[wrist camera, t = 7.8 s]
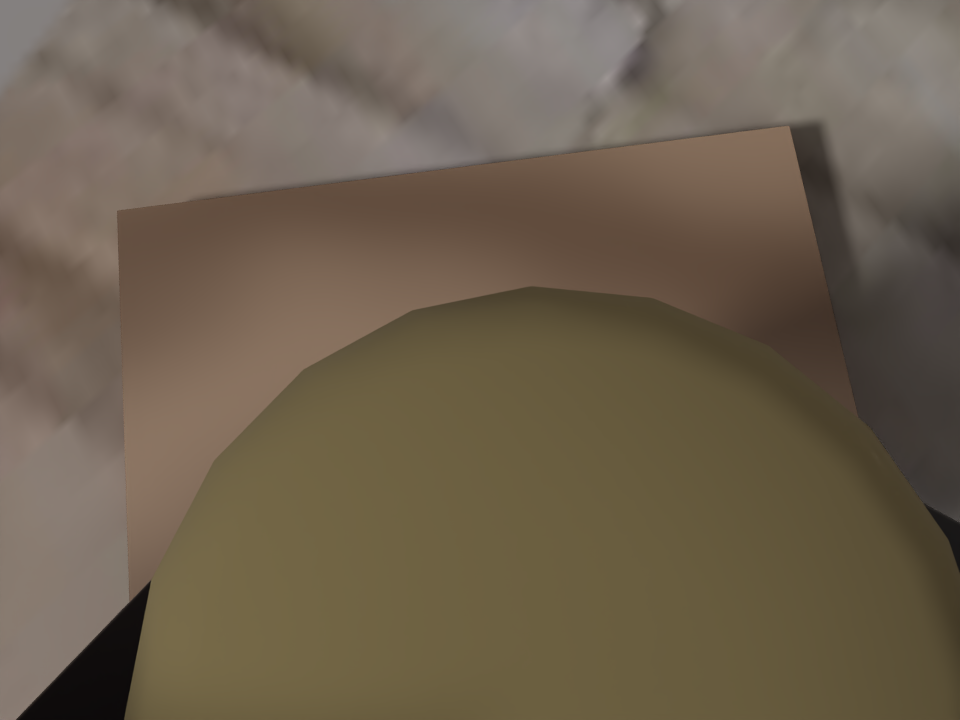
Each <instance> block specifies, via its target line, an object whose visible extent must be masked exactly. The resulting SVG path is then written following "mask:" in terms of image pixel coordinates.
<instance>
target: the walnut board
mask: <svg viewBox="0 0 960 720" xmlns="http://www.w3.org/2000/svg"><path fill="white" fill-rule="evenodd" d="M117 222H118V253H119V285H120V316H121V348H122V379H123V411H124V442H125V474H126V505H127V537H128V569H129V600H130V601H131V600H132V599H133V598H134V597H135V596H136V595H137V594H138V593H139V592H140V591H141V590H142V589H143V587H144V586H145V585H146V584H147V583H148V582H149V581H150V580H151V579H152V578H153V576H154V574H155V572H156V570H157V568H158V566H159V564H160V563H161V561H162V559H163V557H164V555H165V553H166V551H167V549H168V547H169V545H170V543H171V542H172V540H173V538H174V536H175V534H176V532H177V530H178V528H179V526H180V524H181V522H182V521H183V519H184V517H185V515H186V513H187V511H188V509H189V507H190V505H191V503H192V502H193V500H194V498H195V496H196V494H197V492H198V490H199V488H200V486H201V484H202V482H203V481H204V479H205V477H206V475H207V473H208V471H209V469H210V467H211V465H212V463H213V462H214V460H215V459H216V458H217V457H218V456H219V455H220V454H221V453H222V452H223V451H224V450H225V449H226V448H227V447H228V446H229V445H230V444H231V443H232V442H233V441H234V440H235V439H236V438H237V437H238V436H239V435H240V434H241V433H242V432H243V431H244V430H245V429H246V428H247V426H248V425H249V424H250V423H251V422H252V421H253V420H254V419H255V418H256V417H257V416H258V415H259V414H260V413H261V412H262V411H263V410H264V409H265V408H266V407H267V406H268V405H269V404H270V403H271V402H272V401H273V400H274V399H275V398H276V397H277V396H278V395H279V394H280V393H281V392H282V391H283V390H284V389H285V388H286V387H287V386H288V385H289V384H290V383H291V382H292V381H293V380H294V379H295V378H296V377H297V376H298V374H299V373H300V372H301V371H302V370H303V369H305V368H307V367H309V366H311V365H312V364H314V363H316V362H318V361H320V360H322V359H323V358H325V357H327V356H329V355H331V354H333V353H334V352H336V351H338V350H340V349H342V348H344V347H345V346H347V345H349V344H351V343H353V342H355V341H356V340H358V339H360V338H362V337H364V336H366V335H367V334H369V333H371V332H373V331H375V330H377V329H378V328H380V327H382V326H384V325H386V324H388V323H389V322H391V321H393V320H395V319H397V318H399V317H401V316H402V315H404V314H406V313H408V312H410V311H412V310H416V309H421V308H426V307H430V306H435V305H440V304H445V303H450V302H455V301H460V300H465V299H470V298H475V297H480V296H485V295H489V294H494V293H499V292H504V291H509V290H514V289H519V288H524V287H529V286H535V287H546V288H556V289H566V290H577V291H587V292H597V293H607V294H618V295H628V296H638V297H649V298H654V299H656V300H659V301H661V302H664V303H666V304H669V305H671V306H673V307H676V308H678V309H681V310H683V311H686V312H688V313H691V314H693V315H695V316H698V317H700V318H703V319H705V320H708V321H710V322H712V323H715V324H717V325H720V326H722V327H725V328H727V329H729V330H732V331H734V332H737V333H739V334H742V335H744V336H746V337H749V338H751V339H754V340H756V341H759V342H761V343H763V344H766V345H768V346H770V347H771V348H772V349H773V350H775V351H776V352H777V353H778V354H780V355H781V356H782V357H783V358H785V359H786V360H787V361H788V362H789V363H791V364H792V365H793V366H794V367H796V368H797V369H798V370H799V371H801V372H802V373H803V374H804V375H806V376H807V377H808V378H809V379H811V380H812V381H813V382H814V383H816V384H817V385H818V386H819V387H821V388H822V389H823V390H824V391H825V392H827V393H828V394H829V395H830V396H832V397H833V398H834V399H835V400H837V401H838V402H839V403H840V404H842V405H843V406H844V407H845V408H847V409H848V410H849V411H850V412H852V413H853V414H854V415H855V416H857V417H858V413H857V409H856V405H855V401H854V396H853V392H852V388H851V384H850V380H849V375H848V371H847V367H846V363H845V359H844V354H843V350H842V346H841V342H840V338H839V333H838V329H837V325H836V321H835V316H834V312H833V308H832V304H831V300H830V295H829V291H828V287H827V283H826V279H825V274H824V270H823V266H822V262H821V258H820V253H819V249H818V245H817V241H816V236H815V232H814V228H813V224H812V220H811V215H810V211H809V207H808V203H807V199H806V194H805V190H804V186H803V182H802V177H801V173H800V169H799V165H798V161H797V156H796V152H795V148H794V144H793V140H792V135H791V131H790V127H789V126H783V127H775V128H767V129H759V130H751V131H743V132H735V133H727V134H719V135H711V136H704V137H696V138H688V139H680V140H672V141H664V142H656V143H648V144H640V145H632V146H625V147H617V148H609V149H601V150H593V151H585V152H577V153H569V154H561V155H553V156H545V157H538V158H530V159H522V160H514V161H506V162H498V163H490V164H482V165H474V166H466V167H459V168H451V169H443V170H435V171H427V172H419V173H411V174H403V175H395V176H387V177H379V178H372V179H364V180H356V181H348V182H340V183H332V184H324V185H316V186H308V187H300V188H293V189H285V190H277V191H269V192H261V193H253V194H245V195H237V196H229V197H221V198H213V199H206V200H198V201H190V202H182V203H174V204H166V205H158V206H150V207H142V208H134V209H127V210H119V211H117Z"/></svg>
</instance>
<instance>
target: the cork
mask: <svg viewBox="0 0 960 720" xmlns="http://www.w3.org/2000/svg"><path fill="white" fill-rule="evenodd" d="M124 720H960V573H959V570H958V567H957V564H956V561H955V558H954V555H953V552H952V549H951V546H950V543H949V540H948V538H947V537H946V536H945V534H944V533H943V531H942V530H941V528H940V527H939V526H938V524H937V523H936V521H935V520H934V518H933V517H932V515H931V514H930V513H929V511H928V510H927V508H926V507H925V505H924V504H923V503H922V501H921V500H920V498H919V497H918V495H917V494H916V493H915V491H914V490H913V488H912V487H911V485H910V484H909V482H908V481H907V480H906V478H905V477H904V475H903V474H902V472H901V471H900V470H899V468H898V467H897V465H896V464H895V462H894V461H893V460H892V458H891V457H890V455H889V454H888V452H887V451H886V450H885V448H884V447H883V445H882V444H881V442H880V441H879V439H878V438H877V437H876V435H875V434H874V432H873V431H872V429H871V428H870V427H869V426H868V425H866V424H865V423H864V422H863V421H861V420H860V419H859V418H858V417H857V416H855V415H854V414H853V413H852V412H850V411H849V410H848V409H847V408H845V407H844V406H843V405H842V404H840V403H839V402H838V401H837V400H835V399H834V398H833V397H832V396H830V395H829V394H828V393H827V392H825V391H824V390H823V389H822V388H821V387H819V386H818V385H817V384H816V383H814V382H813V381H812V380H811V379H809V378H808V377H807V376H806V375H804V374H803V373H802V372H801V371H799V370H798V369H797V368H796V367H794V366H793V365H792V364H791V363H789V362H788V361H787V360H786V359H785V358H783V357H782V356H781V355H780V354H778V353H777V352H776V351H775V350H773V349H772V348H771V347H770V346H768V345H766V344H763V343H761V342H759V341H756V340H754V339H751V338H749V337H746V336H744V335H742V334H739V333H737V332H734V331H732V330H729V329H727V328H725V327H722V326H720V325H717V324H715V323H712V322H710V321H708V320H705V319H703V318H700V317H698V316H695V315H693V314H691V313H688V312H686V311H683V310H681V309H678V308H676V307H673V306H671V305H669V304H666V303H664V302H661V301H659V300H656V299H654V298H649V297H638V296H628V295H618V294H607V293H597V292H587V291H577V290H566V289H556V288H546V287H535V286H529V287H524V288H519V289H514V290H509V291H504V292H499V293H494V294H489V295H485V296H480V297H475V298H470V299H465V300H460V301H455V302H450V303H445V304H440V305H435V306H430V307H426V308H421V309H416V310H412V311H410V312H408V313H406V314H404V315H402V316H401V317H399V318H397V319H395V320H393V321H391V322H389V323H388V324H386V325H384V326H382V327H380V328H378V329H377V330H375V331H373V332H371V333H369V334H367V335H366V336H364V337H362V338H360V339H358V340H356V341H355V342H353V343H351V344H349V345H347V346H345V347H344V348H342V349H340V350H338V351H336V352H334V353H333V354H331V355H329V356H327V357H325V358H323V359H322V360H320V361H318V362H316V363H314V364H312V365H311V366H309V367H307V368H305V369H303V370H302V371H301V372H300V373H299V374H298V376H297V377H296V378H295V379H294V380H293V381H292V382H291V383H290V384H289V385H288V386H287V387H286V388H285V389H284V390H283V391H282V392H281V393H280V394H279V395H278V396H277V397H276V398H275V399H274V400H273V401H272V402H271V403H270V404H269V405H268V406H267V407H266V408H265V409H264V410H263V411H262V412H261V413H260V414H259V415H258V416H257V417H256V418H255V419H254V420H253V421H252V422H251V423H250V424H249V425H248V426H247V428H246V429H245V430H244V431H243V432H242V433H241V434H240V435H239V436H238V437H237V438H236V439H235V440H234V441H233V442H232V443H231V444H230V445H229V446H228V447H227V448H226V449H225V450H224V451H223V452H222V453H221V454H220V455H219V456H218V457H217V458H216V459H215V460H214V462H213V463H212V465H211V467H210V469H209V471H208V473H207V475H206V477H205V479H204V481H203V482H202V484H201V486H200V488H199V490H198V492H197V494H196V496H195V498H194V500H193V502H192V503H191V505H190V507H189V509H188V511H187V513H186V515H185V517H184V519H183V521H182V522H181V524H180V526H179V528H178V530H177V532H176V534H175V536H174V538H173V540H172V542H171V543H170V545H169V547H168V549H167V551H166V553H165V555H164V557H163V559H162V561H161V563H160V564H159V566H158V568H157V570H156V572H155V574H154V576H153V578H152V580H151V585H150V590H149V595H148V600H147V605H146V610H145V615H144V620H143V625H142V631H141V636H140V641H139V646H138V651H137V656H136V661H135V666H134V671H133V677H132V682H131V687H130V692H129V697H128V702H127V707H126V712H125V717H124Z"/></svg>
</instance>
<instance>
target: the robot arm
mask: <svg viewBox="0 0 960 720" xmlns="http://www.w3.org/2000/svg"><path fill="white" fill-rule="evenodd" d="M923 504H924V503H923ZM924 505H925V507H926V508H927V510H928V511H929V513H930V514H931V515H932V517H933V518H934V520H935V521H936V523H937V524H938V526H939V527H940V528H941V530H942V531H943V533H944V534H945V536H946V537H947V538H948V540H949V543H950V546H951V549H952V552H953V555H954V558H955V561H956V564H957V567H958V570H959V573H960V523H959V522H957V521H955V520H953V519H951V518H950V517H948V516H946V515H944V514H942V513H940V512H939V511H937V510H935V509H933V508H931V507H929V506H928V505H926V504H924ZM151 580H152V579H151ZM151 580H150V581H149V582H148V583H147V584H146V585H145V586H144V587H143V589H142V590H141V591H140V592H139V593H138V594H137V595H136V596H135V597H134V598H133V599H132V600H131V601H130V602H129V603H128V604H127V605H126V606H125V607H124V608H123V609H122V610H121V611H120V612H119V613H118V614H117V615H116V617H115V618H114V619H113V620H112V621H111V622H110V623H109V624H108V625H107V626H106V627H105V628H104V629H103V630H102V631H101V632H100V633H99V634H98V635H97V636H96V637H95V638H94V639H93V640H92V641H91V642H90V643H89V644H88V646H87V647H86V648H85V649H84V650H83V651H82V652H81V653H80V654H79V655H78V656H77V657H76V658H75V659H74V660H73V661H72V662H71V663H70V664H69V665H68V666H67V667H66V668H65V669H64V670H63V671H62V672H61V673H60V675H59V676H58V677H57V678H56V679H55V680H54V681H53V682H52V683H51V684H50V685H49V686H48V687H47V688H46V689H45V690H44V691H43V692H42V693H41V694H40V695H39V696H38V697H37V698H36V699H35V700H34V701H33V702H32V704H31V705H30V706H29V707H28V708H27V709H26V710H25V711H24V712H23V713H22V714H21V715H20V716H19V717H18V718H17V719H16V720H124V717H125V712H126V707H127V702H128V697H129V692H130V687H131V682H132V677H133V671H134V666H135V661H136V656H137V651H138V646H139V641H140V636H141V631H142V625H143V620H144V615H145V610H146V605H147V600H148V595H149V590H150V585H151Z"/></svg>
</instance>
